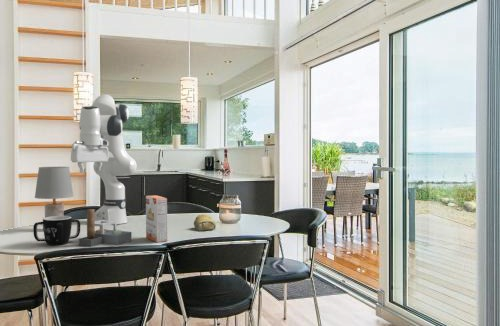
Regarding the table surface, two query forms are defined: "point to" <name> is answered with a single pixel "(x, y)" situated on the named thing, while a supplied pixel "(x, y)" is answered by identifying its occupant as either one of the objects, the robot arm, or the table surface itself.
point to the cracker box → (156, 218)
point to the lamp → (54, 188)
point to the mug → (56, 230)
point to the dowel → (90, 223)
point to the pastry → (204, 223)
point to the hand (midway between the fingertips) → (90, 172)
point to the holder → (90, 241)
